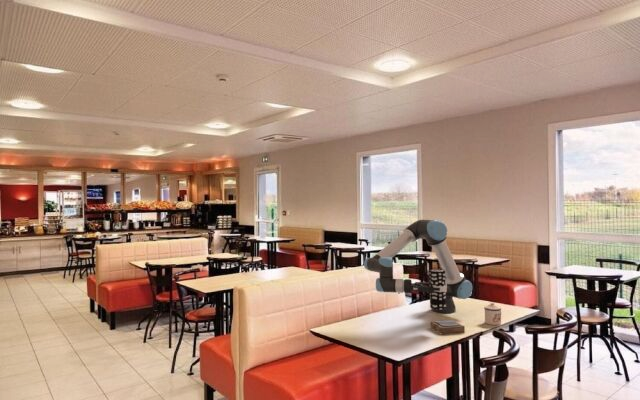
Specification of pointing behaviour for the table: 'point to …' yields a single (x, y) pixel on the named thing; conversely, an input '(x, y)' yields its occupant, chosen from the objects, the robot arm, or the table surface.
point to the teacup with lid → (492, 314)
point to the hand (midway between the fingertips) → (446, 287)
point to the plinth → (447, 327)
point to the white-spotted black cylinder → (437, 297)
